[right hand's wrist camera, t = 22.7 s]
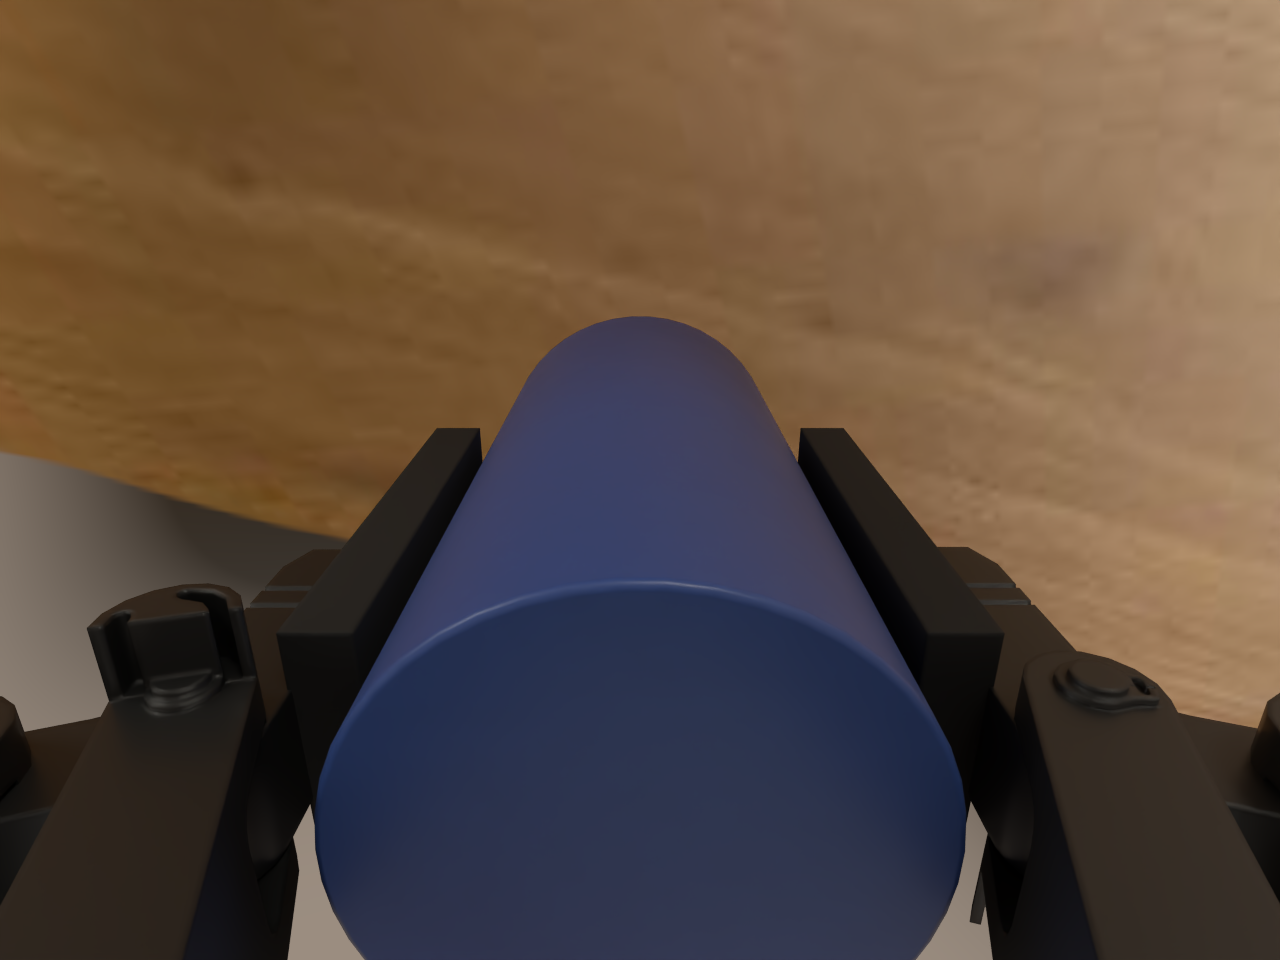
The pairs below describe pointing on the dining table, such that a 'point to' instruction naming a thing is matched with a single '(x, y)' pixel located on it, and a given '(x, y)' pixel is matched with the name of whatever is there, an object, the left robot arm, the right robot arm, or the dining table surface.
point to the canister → (640, 699)
